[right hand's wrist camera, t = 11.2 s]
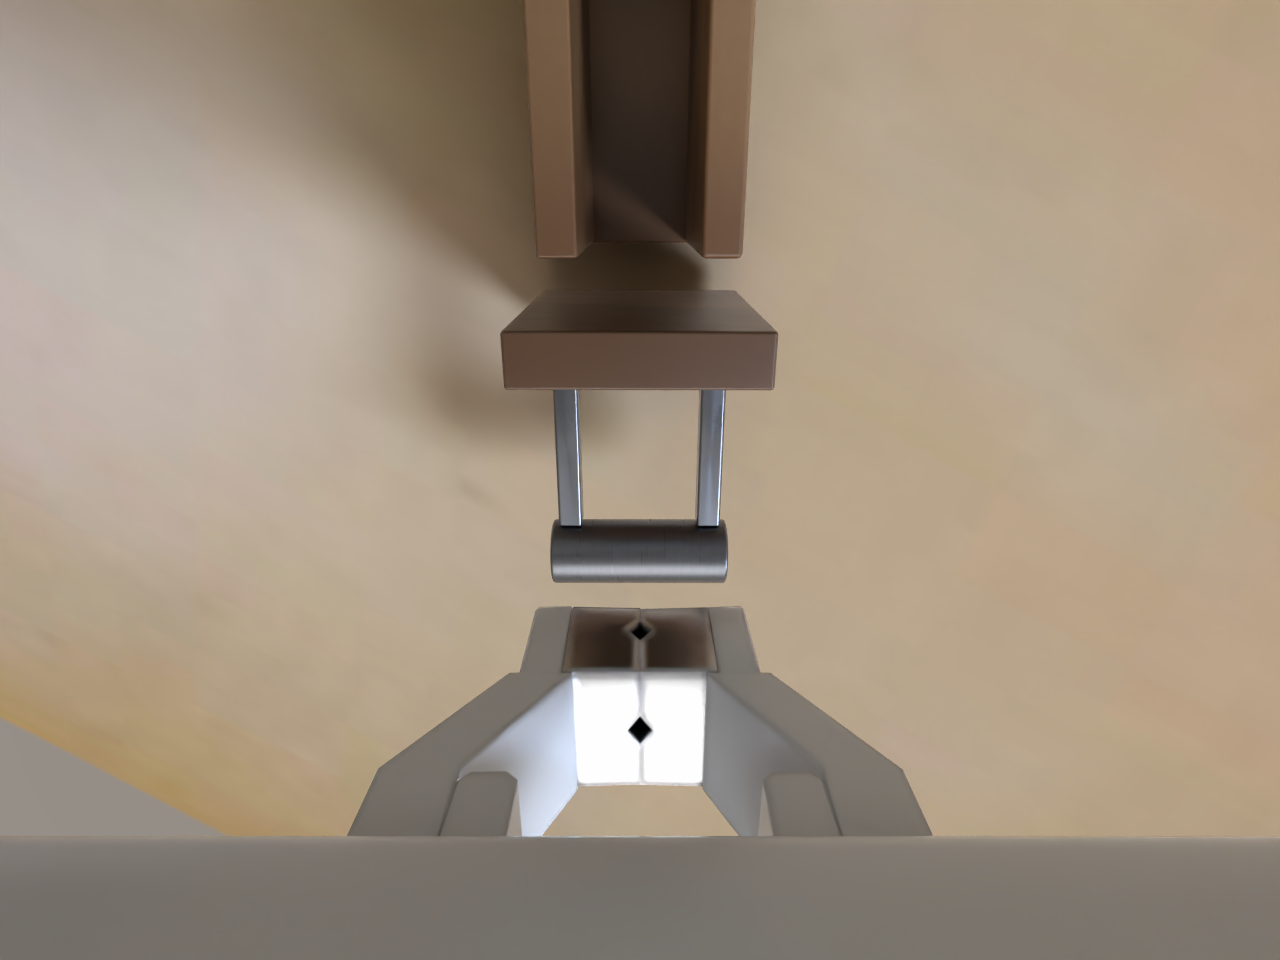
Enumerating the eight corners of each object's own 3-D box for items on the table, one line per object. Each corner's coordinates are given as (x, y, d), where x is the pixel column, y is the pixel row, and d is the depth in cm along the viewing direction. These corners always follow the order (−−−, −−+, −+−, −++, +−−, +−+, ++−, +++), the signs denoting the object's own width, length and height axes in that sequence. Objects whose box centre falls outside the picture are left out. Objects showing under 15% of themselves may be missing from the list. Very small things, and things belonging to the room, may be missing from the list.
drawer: (724, 519, 23) (755, 641, 17) (554, 519, 23) (522, 640, 17) (776, -521, 14) (883, -1087, 8) (504, -522, 14) (397, -1086, 8)
